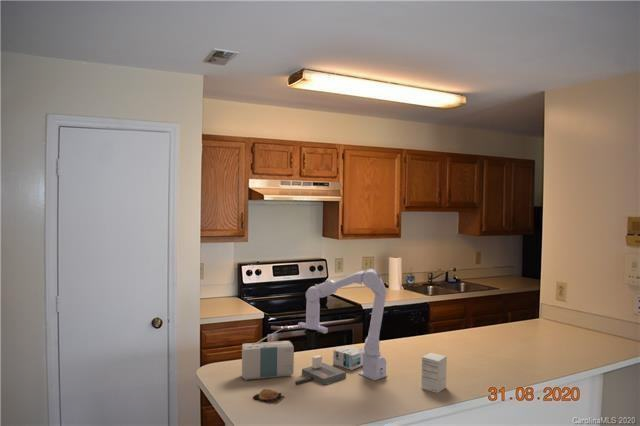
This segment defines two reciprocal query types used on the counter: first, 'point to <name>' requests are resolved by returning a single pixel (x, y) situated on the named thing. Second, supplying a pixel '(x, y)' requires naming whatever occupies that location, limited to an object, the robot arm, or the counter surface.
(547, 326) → the counter surface
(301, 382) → the power cord
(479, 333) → the counter surface
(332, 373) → the box
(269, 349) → the stereo radio cassette player
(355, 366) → the light bulb box
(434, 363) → the supplement box
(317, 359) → the breaker toggle
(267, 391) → the bread roll
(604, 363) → the counter surface
